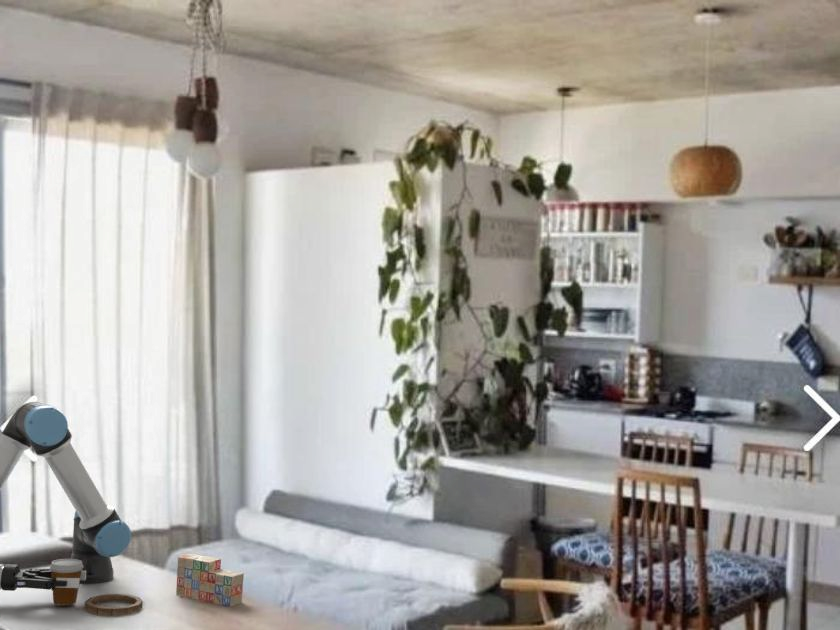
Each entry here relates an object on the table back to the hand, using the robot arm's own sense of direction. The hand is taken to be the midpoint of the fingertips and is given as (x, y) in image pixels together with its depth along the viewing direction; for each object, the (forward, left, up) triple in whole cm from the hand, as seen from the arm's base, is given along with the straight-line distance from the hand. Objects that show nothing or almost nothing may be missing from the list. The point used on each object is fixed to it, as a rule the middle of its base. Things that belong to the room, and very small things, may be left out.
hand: (82, 579), depth 308 cm
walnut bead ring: (-5, +8, -8) cm, 13 cm away
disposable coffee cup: (+3, -4, -7) cm, 9 cm away
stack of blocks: (-32, +21, -8) cm, 39 cm away
